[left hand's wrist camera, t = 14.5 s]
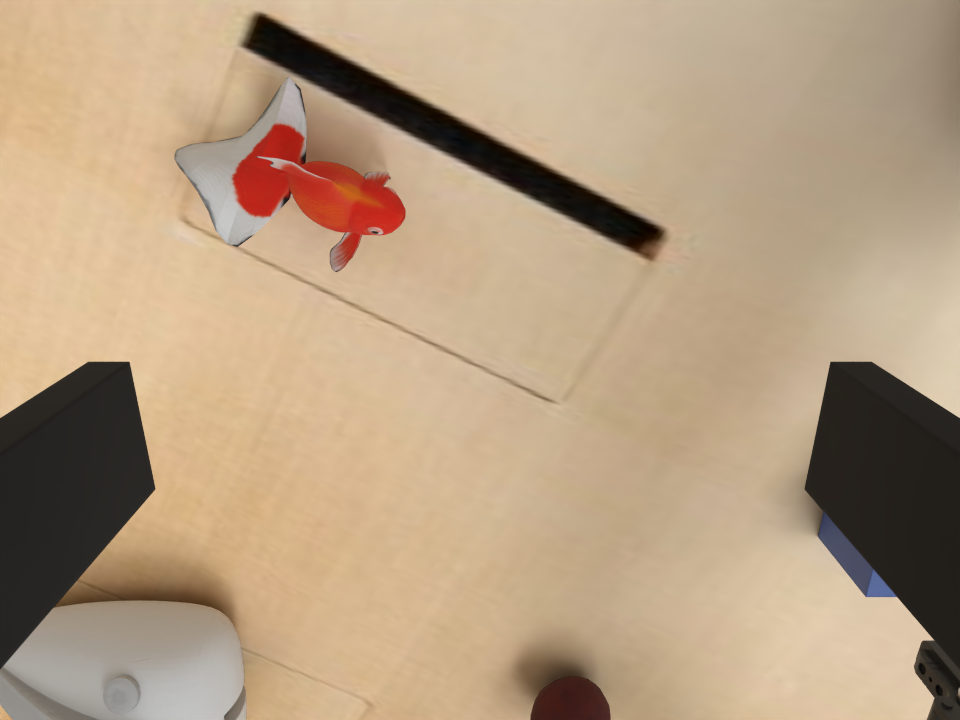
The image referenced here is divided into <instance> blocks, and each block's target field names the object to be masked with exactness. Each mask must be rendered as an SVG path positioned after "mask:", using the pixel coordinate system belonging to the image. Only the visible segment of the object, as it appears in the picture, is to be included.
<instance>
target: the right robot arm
mask: <svg viewBox="0 0 960 720" xmlns="http://www.w3.org/2000/svg"><path fill="white" fill-rule="evenodd" d="M914 669H915V672H916V674H917V675H918V677H919V678H920V679H921V680H922V682H923V683H924V685H925V686H926V687H927V688H928V690H929V691H930V692H931V694H932V695H933V696H934V698H935V699H934V701H933V704H932V707H931V710H930V713H929V715H928V718H927V720H960V669H959V668H958V667H957V666H956V665H955V664H954V662H953V661H952V660H951V659H950V658H949V657H948V655H947V654H946V653H945V652H944V651H943V650H942V648H941V647H940V646H939V645H938V644H937V643H936V641H922V643H921V645H920V648H919V651H918V654H917V657H916V662H915V665H914Z"/></svg>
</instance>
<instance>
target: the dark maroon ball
mask: <svg viewBox="0 0 960 720" xmlns="http://www.w3.org/2000/svg"><path fill="white" fill-rule="evenodd" d="M531 720H611V718H610V708H609V704H608V702H607V700H606V698H605V696H604V695H603V693H602V691H601V690H600V688H599V687H598V686H597V685H596V684H594V683H593V682H591V681H590V680H588V679H585V678H581V677H565V678H562V679H559V680H556V681H554V682H552V683H551V684H549V685H548V686H546V687H545V688H544V689H543V690H542V691H541V692H540V693H539V695H538V696H537V698H536V700H535V702H534V705H533V709H532V713H531Z"/></svg>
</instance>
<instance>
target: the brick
mask: <svg viewBox="0 0 960 720" xmlns="http://www.w3.org/2000/svg"><path fill="white" fill-rule="evenodd" d="M818 537H819V539H820V540H821V541H822V543H823V544H824V545H825V546H826V548H827V549H828V550H829V551H830V553H831V554H832V555H833V556H834V558H835V559H836V560H837V561H838V563H839V564H840V565H841V566H842V568H843V569H844V570H845V571H846V573H847V574H848V575H849V576H850V578H851V579H852V580H853V581H854V583H855V584H856V585H857V586H858V588H859V589H860V590H861V591H862V593H863V594H864V595H865V596H866V597H897V596H896V595H895V594H894V593H893V591H892V590H891V589H890V588H889V587H888V586H887V584H886V583H885V582H884V581H883V580H882V579H881V577H880V576H879V575H878V574H877V573H876V572H875V571H874V569H873V568H872V567H871V566H870V565H869V564H868V562H867V561H866V560H865V559H864V558H863V557H862V555H861V554H860V553H859V552H858V551H857V550H856V548H855V547H854V546H853V545H852V544H851V543H850V541H849V540H848V539H847V538H846V537H845V536H844V534H843V533H842V532H841V531H840V530H839V529H838V527H837V526H836V525H835V524H834V523H833V522H832V520H831V519H830V518H829V517H828V516H827V515H826V513H825V512H823V516H822V521H821V526H820V530H819V535H818Z"/></svg>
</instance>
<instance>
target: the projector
mask: <svg viewBox="0 0 960 720" xmlns="http://www.w3.org/2000/svg"><path fill="white" fill-rule="evenodd" d="M244 678H245V675H244V664H243V656H242V649H241V644H240V640H239V636H238V634H237V631H236V629H235V628H234V626H233V624H232V622H231V621H230V619H229V618H228V617H227V616H226V615H225V614H223V613H222V612H220V611H219V610H217V609H214V608H212V607H208V606H204V605H199V604H193V603H184V602H171V601H141V600H139V601H106V602H93V603H82V604H74V605H67V606H61V607H54V608H53V609H52V610H51V611H50V612H49V614H48V615H47V616H46V617H45V618H44V619H43V621H42V622H41V623H40V624H39V625H38V626H37V628H36V629H35V630H34V631H33V632H32V633H31V635H30V636H29V637H28V638H27V639H26V640H25V641H24V643H23V644H22V645H21V646H20V647H19V648H18V650H17V651H16V652H15V653H14V654H13V655H12V657H11V658H10V659H9V660H8V661H7V662H6V664H5V665H4V666H3V667H2V668H1V669H0V705H1V706H2V708H3V709H4V710H5V711H6V712H7V714H8V715H9V716H10V717H11V718H12V719H13V720H246V715H247V709H246V691H245V687H244Z"/></svg>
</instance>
